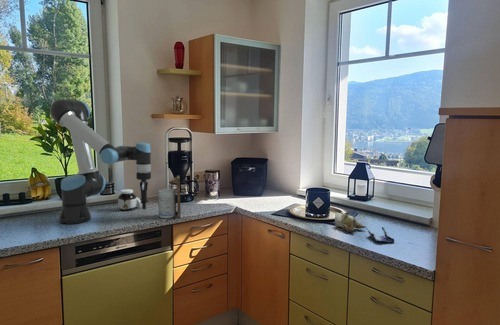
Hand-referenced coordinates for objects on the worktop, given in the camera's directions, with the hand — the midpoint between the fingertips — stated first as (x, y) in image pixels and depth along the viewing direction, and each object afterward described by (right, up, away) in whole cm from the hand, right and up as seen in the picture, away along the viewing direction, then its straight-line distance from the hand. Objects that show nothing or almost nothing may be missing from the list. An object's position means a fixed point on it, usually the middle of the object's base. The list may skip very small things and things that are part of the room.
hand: (144, 214), depth 202 cm
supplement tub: (+12, -2, +3) cm, 12 cm away
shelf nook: (+17, -1, +3) cm, 17 cm away
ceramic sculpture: (+106, -5, -20) cm, 108 cm away
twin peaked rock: (+116, -7, -35) cm, 122 cm away
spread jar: (-14, 0, +19) cm, 24 cm away
